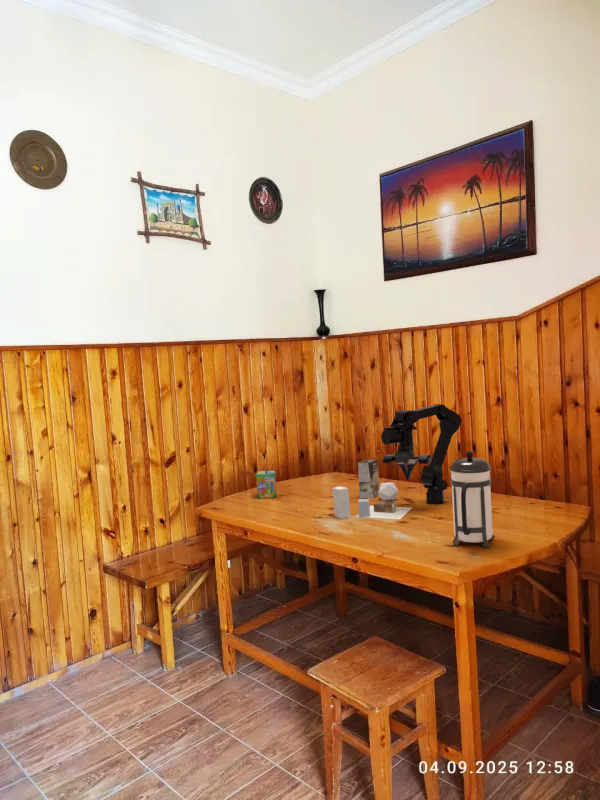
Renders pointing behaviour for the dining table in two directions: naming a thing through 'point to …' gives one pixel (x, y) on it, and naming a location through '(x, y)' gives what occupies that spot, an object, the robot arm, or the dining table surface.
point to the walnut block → (385, 506)
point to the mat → (396, 515)
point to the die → (387, 491)
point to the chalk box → (266, 484)
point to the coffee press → (471, 500)
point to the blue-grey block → (364, 508)
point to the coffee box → (368, 478)
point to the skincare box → (341, 502)
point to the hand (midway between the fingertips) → (408, 480)
